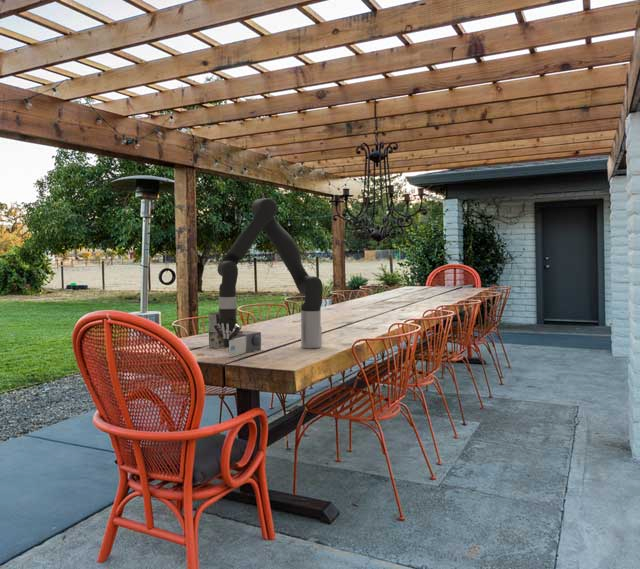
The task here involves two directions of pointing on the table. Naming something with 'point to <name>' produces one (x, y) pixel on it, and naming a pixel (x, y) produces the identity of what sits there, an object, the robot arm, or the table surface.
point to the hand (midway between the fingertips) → (227, 347)
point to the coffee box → (214, 332)
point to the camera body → (251, 339)
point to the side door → (237, 346)
